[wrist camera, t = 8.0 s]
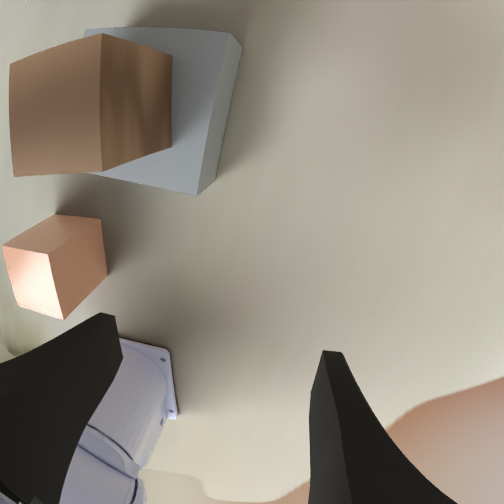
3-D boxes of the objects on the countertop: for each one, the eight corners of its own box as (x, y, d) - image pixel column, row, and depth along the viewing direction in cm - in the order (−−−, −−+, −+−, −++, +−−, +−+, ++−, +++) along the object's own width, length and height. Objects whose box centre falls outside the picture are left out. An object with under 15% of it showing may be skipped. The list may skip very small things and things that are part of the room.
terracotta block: (108, 275, 23) (63, 320, 17) (63, 266, 23) (18, 305, 18) (101, 218, 21) (47, 254, 15) (55, 214, 21) (1, 245, 16)
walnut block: (171, 147, 15) (102, 172, 9) (94, 150, 15) (14, 177, 10) (172, 55, 13) (101, 32, 7) (93, 68, 13) (9, 64, 8)
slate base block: (216, 179, 19) (196, 196, 15) (103, 156, 19) (66, 169, 16) (244, 48, 16) (229, 32, 12) (121, 39, 16) (85, 29, 12)
